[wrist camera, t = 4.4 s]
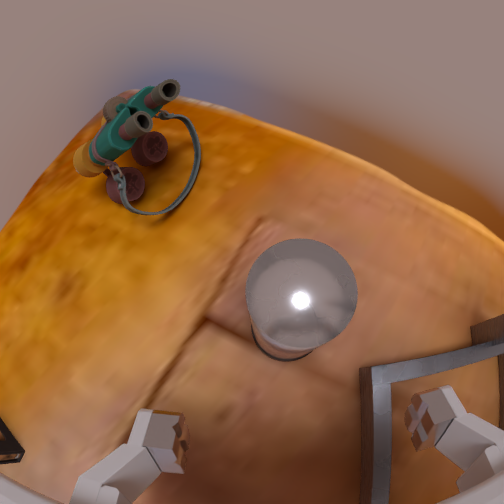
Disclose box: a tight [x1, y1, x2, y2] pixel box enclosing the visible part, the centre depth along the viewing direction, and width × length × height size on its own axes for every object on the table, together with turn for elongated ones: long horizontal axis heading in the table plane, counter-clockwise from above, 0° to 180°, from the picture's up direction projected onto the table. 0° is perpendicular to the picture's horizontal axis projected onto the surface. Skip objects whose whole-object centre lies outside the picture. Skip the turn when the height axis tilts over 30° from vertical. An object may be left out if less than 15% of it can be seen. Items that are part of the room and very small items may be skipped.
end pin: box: [245, 239, 358, 362], centre depth 16 cm, size 5×5×9 cm
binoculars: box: [73, 79, 201, 215], centre depth 21 cm, size 9×9×10 cm
